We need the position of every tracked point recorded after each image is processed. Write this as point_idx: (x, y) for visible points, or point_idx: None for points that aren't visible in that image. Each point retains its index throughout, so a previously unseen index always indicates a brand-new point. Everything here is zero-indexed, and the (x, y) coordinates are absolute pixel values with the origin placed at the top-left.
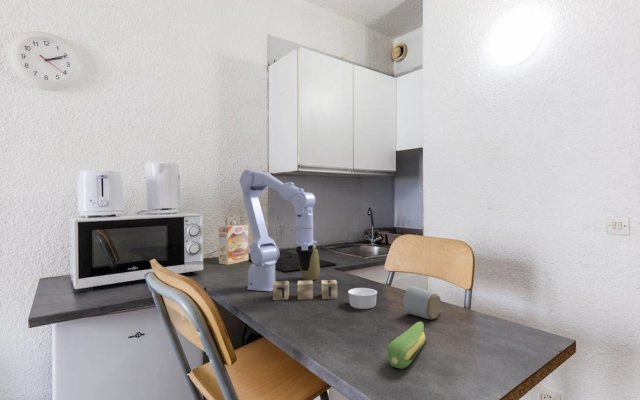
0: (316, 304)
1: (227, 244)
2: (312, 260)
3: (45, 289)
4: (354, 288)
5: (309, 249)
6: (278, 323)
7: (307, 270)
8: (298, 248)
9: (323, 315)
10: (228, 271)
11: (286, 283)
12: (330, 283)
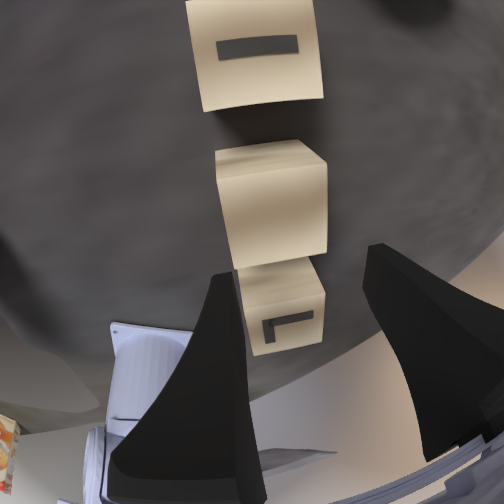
0: (379, 119)
1: (8, 458)
2: None
3: None
4: None
5: (241, 455)
6: (486, 225)
7: (386, 248)
8: (265, 493)
9: (475, 106)
10: (50, 421)
11: (300, 305)
12: (310, 37)
